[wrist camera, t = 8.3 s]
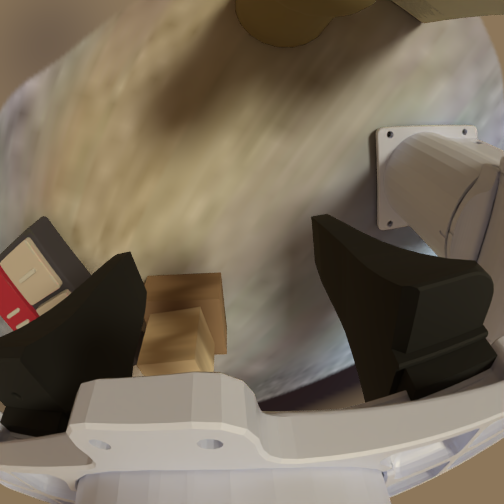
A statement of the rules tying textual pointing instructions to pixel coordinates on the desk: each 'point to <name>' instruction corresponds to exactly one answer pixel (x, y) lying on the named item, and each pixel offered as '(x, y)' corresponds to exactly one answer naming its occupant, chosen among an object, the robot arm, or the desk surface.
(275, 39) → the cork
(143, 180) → the desk surface
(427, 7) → the box
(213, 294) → the walnut base
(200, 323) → the beech block
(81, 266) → the calculator
